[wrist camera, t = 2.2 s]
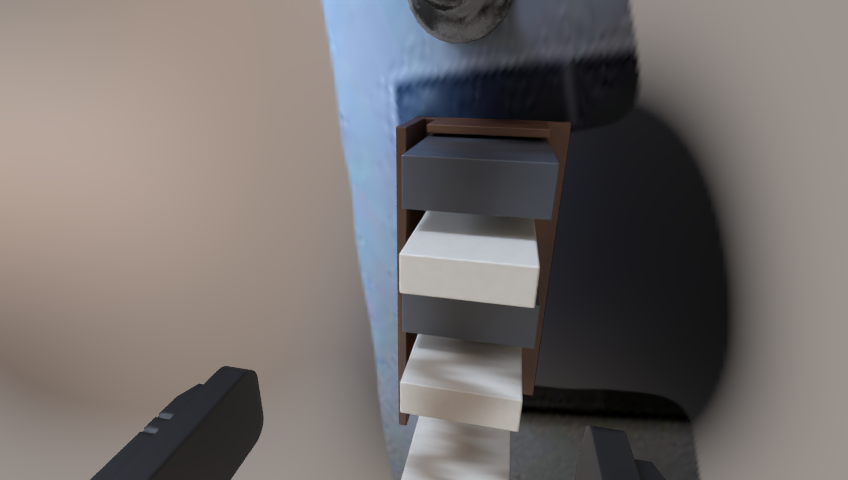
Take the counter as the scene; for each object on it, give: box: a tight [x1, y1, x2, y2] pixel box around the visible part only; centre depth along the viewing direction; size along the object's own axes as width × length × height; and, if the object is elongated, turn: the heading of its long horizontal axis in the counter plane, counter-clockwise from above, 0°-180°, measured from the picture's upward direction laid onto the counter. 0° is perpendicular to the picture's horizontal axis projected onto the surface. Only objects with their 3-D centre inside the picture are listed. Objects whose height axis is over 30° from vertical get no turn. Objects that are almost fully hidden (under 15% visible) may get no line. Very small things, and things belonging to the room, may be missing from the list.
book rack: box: [396, 116, 571, 480], centre depth 26 cm, size 10×22×13 cm, turn 179°
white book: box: [399, 211, 540, 308], centre depth 24 cm, size 6×2×12 cm, turn 89°
